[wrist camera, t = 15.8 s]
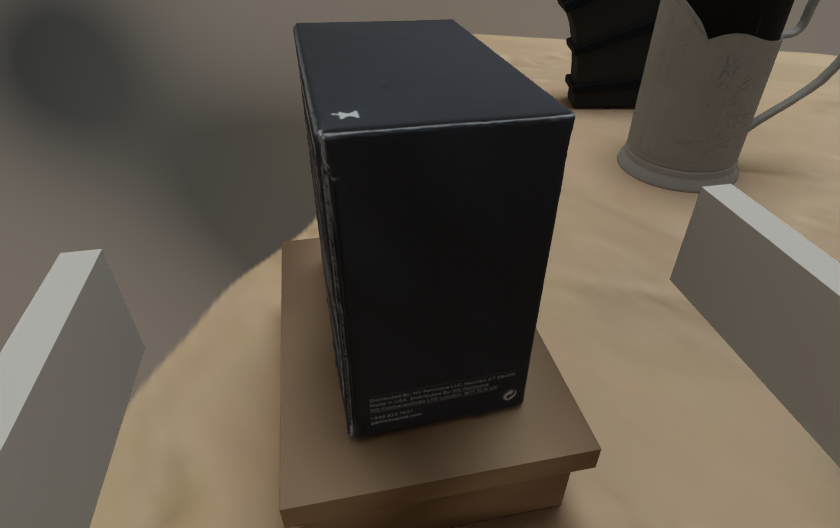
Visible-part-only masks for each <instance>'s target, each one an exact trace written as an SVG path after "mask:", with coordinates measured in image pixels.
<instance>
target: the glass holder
mask: <svg viewBox="0 0 840 528" xmlns="http://www.w3.org/2000/svg"><path fill="white" fill-rule="evenodd" d="M819 1H820V0H809V1H808V3H807V5H806V7H805V10H804V12H803V14H802V17H801V19H800V21H799V22H798V24H797V25H796V27H794V28H793V29H792V30H789V31H786V32H783V29H784V27H785V24H786V21H787V19H788V16H789V13H790V11H791V8H792V5H793V3H794V0H661V1H660V5H659V9H658V14H657V18H656V22H655V26H654V30H653V35H652V39H651V43H650V47H649V51H648V56H647V60H646V64H645V68H644V72H643V77H642V81H641V85H640V89H639V93H638V98H637V102H636V106H635V110H634V114H633V119H632V123H631V127H630V131H629V135H628V139H627V141H626V144H625V145H624V146H623V147H622V149H621V150H620V151H619V154H618V156H617V161H618V163H619V165H620V166H621V168H622V169H623V170H624V171H625V172H627V173H628V174H629V175H631V176H633V177H634V178H636V179H638V180H640V181H642V182H645V183H648V184H650V185H653V186H657V187H660V188H664V189H669V190H674V191H682V192H695V193H700V190H701V187H705V186H714V185H724V184H732V185H733V184H734V183H736V181H737V179H738V173H739V172H738V167H737V163H738V157H739V155H740V152H741V149H742V147H743V144H744V141H745V139H746V136H747V134H748V132H749V131H751V130H752V129H754V128H755V127H757V126H758V125H760V124H761V123H763V122H764V121H766V120H768V119H769V118H771V117H773V116H774V115H776V114H778V113H779V112H781V111H783V110H785V109H786V108H788V107H790V106H791V105H793V104H794V103H796V102H797V101H799V100H800V99H802V98H804V97H805V96H807V95H808V94H810V93H812V92H813V91H814V90H816V89H817V88H819V87H820V86H822V85H823V84H824V83H826V82H827V81H828V80H829V79H830V78H831V77H832V76H833V75H834V74H835V73H836V72H837V71H838V70H839V69H840V55H839V56H838V57H837V58H836V59H835V60H834V61H833V62H832V64H831V65H830V66H829V67H828V68H827V69H825V70H824V71H823V72H822V73H821V74H820V75H819V76H818V77H817V78H816V79H814V80H813V81H812V82H810V83H809V84H808V85H806V86H805V87H804V88H802V89H801V90H799V91H798V92H796V93H795V94H793V95H792V96H790V97H789V98H787V99H785V100H784V101H782V102H780V103H779V104H777V105H775V106H773V107H772V108H770V109H768V110H767V111H765V112H763V113H762V114H760V115H758V116H757V117H755V118H754V115H755V112H756V110H757V107H758V104H759V102H760V99H761V96H762V94H763V91H764V88H765V86H766V83H767V81H768V78H769V75H770V73H771V70H772V67H773V65H774V62H775V59H776V57H777V54H778V51H779V49H780V46H781V43H782V41H783V39H784V38H791V37H794V36H797V35H798V34H800V33H801V32H802V31H803V30H804V29H805V28H806V27H807V25H808V24H809V22H810V20H811V17H812V15H813V13H814V11H815V9H816V7H817V5H818V3H819ZM753 118H754V119H753Z"/></svg>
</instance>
